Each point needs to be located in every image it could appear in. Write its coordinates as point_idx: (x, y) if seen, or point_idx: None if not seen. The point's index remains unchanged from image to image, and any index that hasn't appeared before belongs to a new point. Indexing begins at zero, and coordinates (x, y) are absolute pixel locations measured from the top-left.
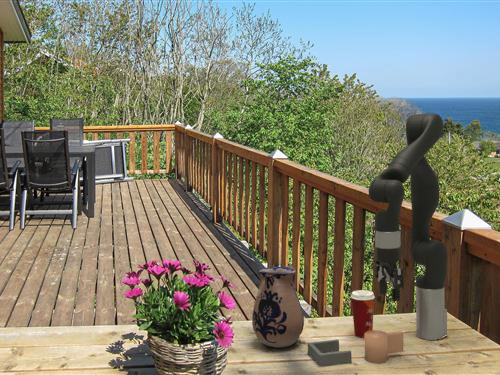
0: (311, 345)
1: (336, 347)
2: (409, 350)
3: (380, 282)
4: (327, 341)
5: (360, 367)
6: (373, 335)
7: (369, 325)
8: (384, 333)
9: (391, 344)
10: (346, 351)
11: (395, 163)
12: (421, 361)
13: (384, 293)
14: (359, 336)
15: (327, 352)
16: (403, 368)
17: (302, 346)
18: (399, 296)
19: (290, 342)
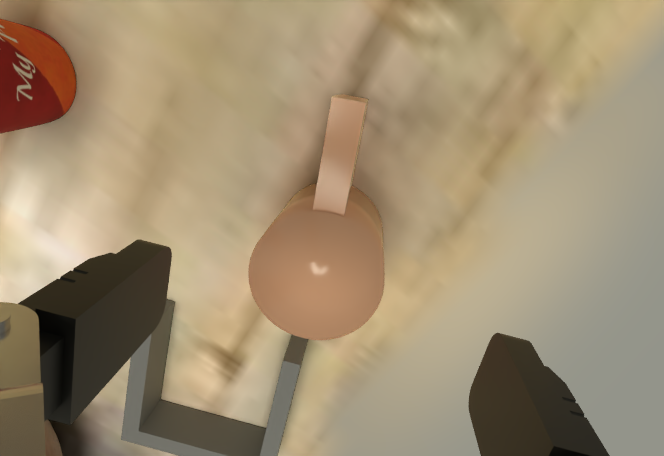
0: (155, 444)
1: (165, 320)
2: (325, 13)
3: (67, 418)
4: (141, 370)
5: (365, 338)
6: (324, 304)
7: (32, 73)
8: (332, 232)
9: (352, 177)
10: (287, 379)
11: None
12: (472, 69)
13: (167, 272)
14: (54, 119)
15: (167, 347)
16: (481, 203)
17: None
18: (570, 397)
19: (61, 452)
